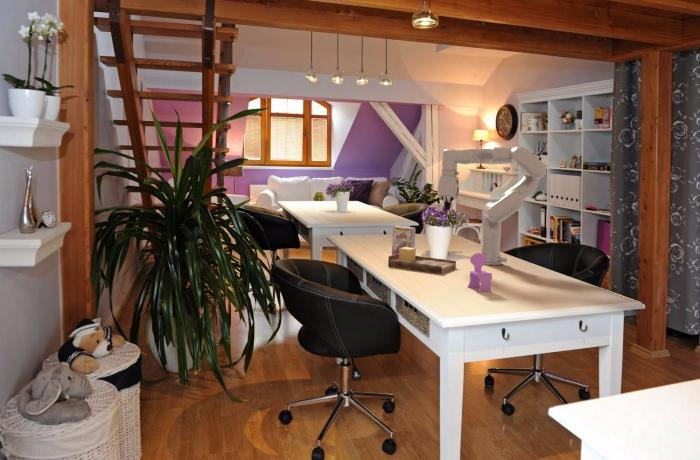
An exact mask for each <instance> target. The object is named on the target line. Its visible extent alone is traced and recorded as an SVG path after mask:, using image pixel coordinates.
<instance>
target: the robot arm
mask: <svg viewBox="0 0 700 460" xmlns="http://www.w3.org/2000/svg"><path fill="white" fill-rule="evenodd" d="M441 160H442V162H441V175H440V178H439V181H438V188H437V198H439V199H441V200H442V201H443V202H444V203H443V208H444V207H445V208H444V211H450V209H451V208H452V202H453V201H454V200H457V199H459V194H460V183H459V182H460V181H459V177H458V176H459V175H460V172H459V171H458V164H459V165H470V164H486V165H505V164H506V165H511V164H516V165H518V166H519V167H521V168H522V170H523V175H522V176H523V177H522V178H521V180H520V181H518V182H517V183H516V184H514V186H512V187H510V188H509V189H507V190H506V191H504V192H503V193H502V194H501V197H500V199H499V200H498V201H496V202H494V201H491V202H487V203H486V204H485V205H484V206H483V208H482V211H481V212H482V215H481V217H482V227H481V228H482V229H481V243H480V244H481V245H480V253H481V254H484V255H485V256H486V257H487V262H486V264H485V265H487V266H499V265H502V264H503V263H507V262H508V258H507V257H502V254H500V252H501V251H500V250H501V238H502V222H503V221H505V220H506V219H508V218H509V217H510V216H512V215H514V214H515V213H516V212H518V211H519V210H520V209H522V207H523V206H524V203H525V199H527V198H528V197H529V196H531V195H532V194H533V193H534V192H535V191H536V189H537V188H538V186H539V184H540V180H541V179H542V178H543V177H545V176H546V174H547V167H546V165H545V164H544V163H543V161H541V160H540V158H538V157H537V156H535V155H534V154H533V153H532V152H531V151H530V150H529V149H527V148H526V147H525V146H495V147H492V146H491V147H485V148H470V149H465V148H464V149H463V148H462V149H453V148H452V149H449V148H447V149H444V150H442V159H441ZM485 265H484V266H485Z"/></svg>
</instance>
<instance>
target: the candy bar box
mask: <svg viewBox="0 0 700 460" xmlns="http://www.w3.org/2000/svg"><path fill="white" fill-rule="evenodd" d="M392 229H393V230H392V245H391V247H392V248H391V249H392V251H391V255H395V254H398V253H399V248H403V247H410V248H416V245H415V244H416V227H410V226H409V227H408V226H401V225H394V226H393V228H392Z"/></svg>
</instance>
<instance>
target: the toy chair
mask: <svg viewBox="0 0 700 460" xmlns="http://www.w3.org/2000/svg"><path fill="white" fill-rule="evenodd" d="M469 258H470V259H469V261H470V263H471V264H472V265H473V267H474V268H473V269H474V270H470V273H469V278H470V279H469V283H468V285H467V288H479V289H478V291H477V293H481V292H482V293H485V292H492V288H491V287H492V286H491V283H492V281H493V273H491V272H488V271H486V270H482V267H484V266H485V264H486V262H487V257H486V256H485V255H484V254H481V252H477V253H476V252H475V253H474V254H473V255H471V256H470V257H469Z"/></svg>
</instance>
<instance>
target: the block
mask: <svg viewBox="0 0 700 460" xmlns="http://www.w3.org/2000/svg"><path fill="white" fill-rule="evenodd" d="M416 250H417V248H416V247H415V248H410V247H403V248H399V260H401V261H407V262H411V261H414V260H415V256H417V255H416V254H417V251H416Z"/></svg>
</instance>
